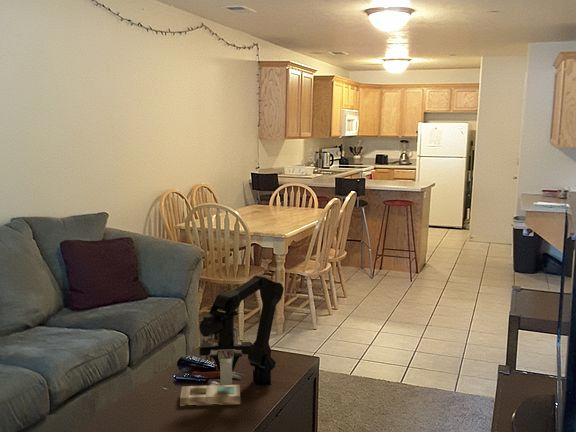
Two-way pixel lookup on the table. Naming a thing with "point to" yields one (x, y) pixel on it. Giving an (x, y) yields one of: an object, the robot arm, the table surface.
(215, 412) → the table surface
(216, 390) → the beige slotted block
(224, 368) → the steel block
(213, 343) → the decorative jar
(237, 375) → the pliers
